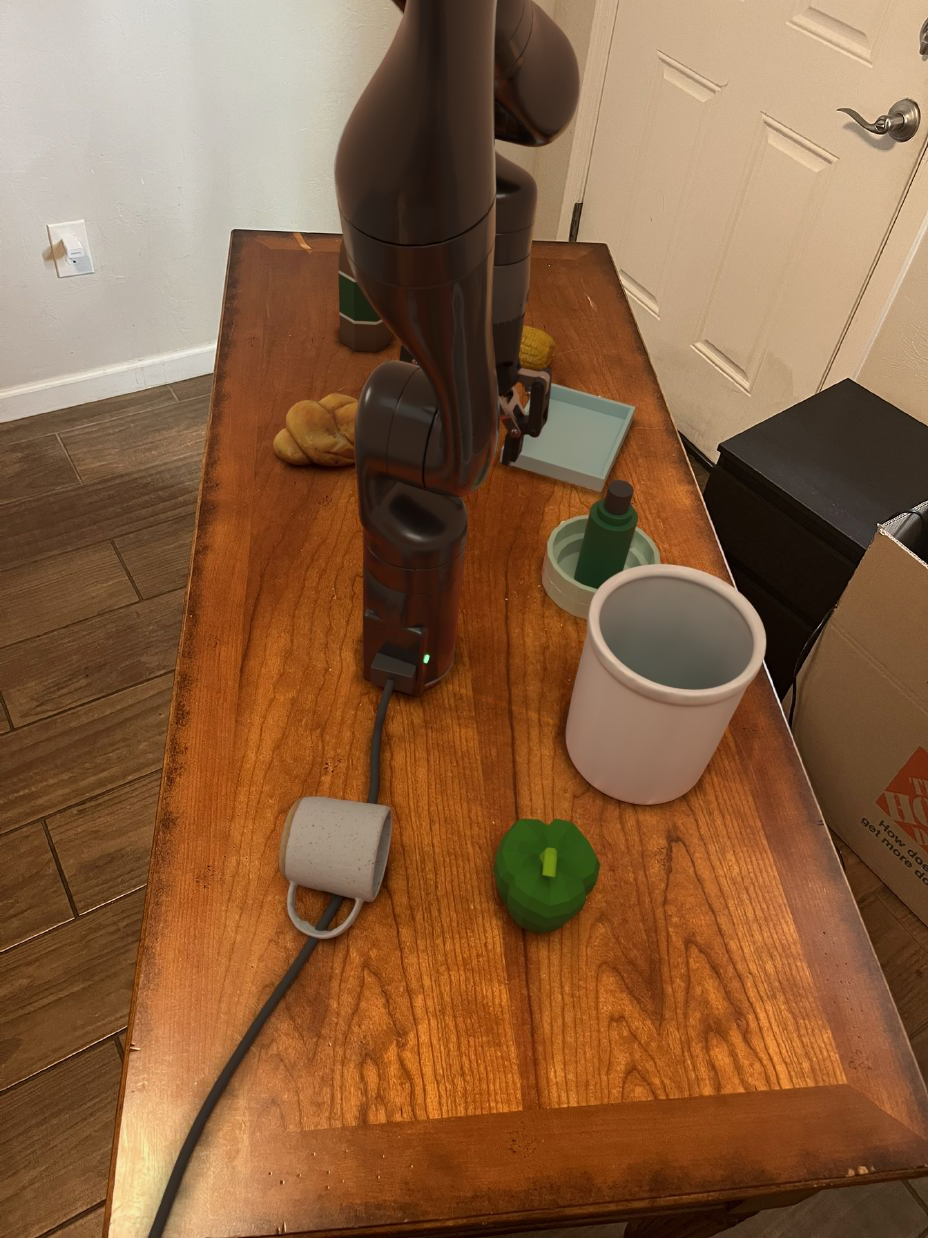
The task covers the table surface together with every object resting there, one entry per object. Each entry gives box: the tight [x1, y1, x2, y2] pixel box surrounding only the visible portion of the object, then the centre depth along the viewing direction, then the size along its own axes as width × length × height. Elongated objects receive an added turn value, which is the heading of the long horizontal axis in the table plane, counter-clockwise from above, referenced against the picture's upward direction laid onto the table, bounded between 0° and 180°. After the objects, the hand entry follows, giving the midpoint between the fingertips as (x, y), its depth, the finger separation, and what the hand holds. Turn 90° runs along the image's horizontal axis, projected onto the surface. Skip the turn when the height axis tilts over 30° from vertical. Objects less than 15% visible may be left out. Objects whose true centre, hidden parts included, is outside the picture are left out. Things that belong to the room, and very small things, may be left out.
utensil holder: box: [565, 563, 767, 806], centre depth 85 cm, size 15×15×18 cm
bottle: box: [574, 479, 639, 589], centre depth 99 cm, size 5×5×14 cm
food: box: [519, 324, 557, 372], centre depth 131 cm, size 21×6×6 cm, turn 68°
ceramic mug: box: [278, 795, 393, 940], centre depth 76 cm, size 11×8×8 cm
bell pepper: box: [492, 818, 601, 935], centre depth 76 cm, size 8×8×10 cm
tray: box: [499, 383, 637, 493], centre depth 120 cm, size 16×13×3 cm
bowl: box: [541, 514, 662, 621], centre depth 103 cm, size 12×12×5 cm
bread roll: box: [272, 392, 359, 467], centre depth 113 cm, size 13×10×8 cm
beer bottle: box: [338, 238, 393, 353], centre depth 125 cm, size 8×8×24 cm
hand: (467, 448), depth 92 cm, fingers open, 8 cm apart
